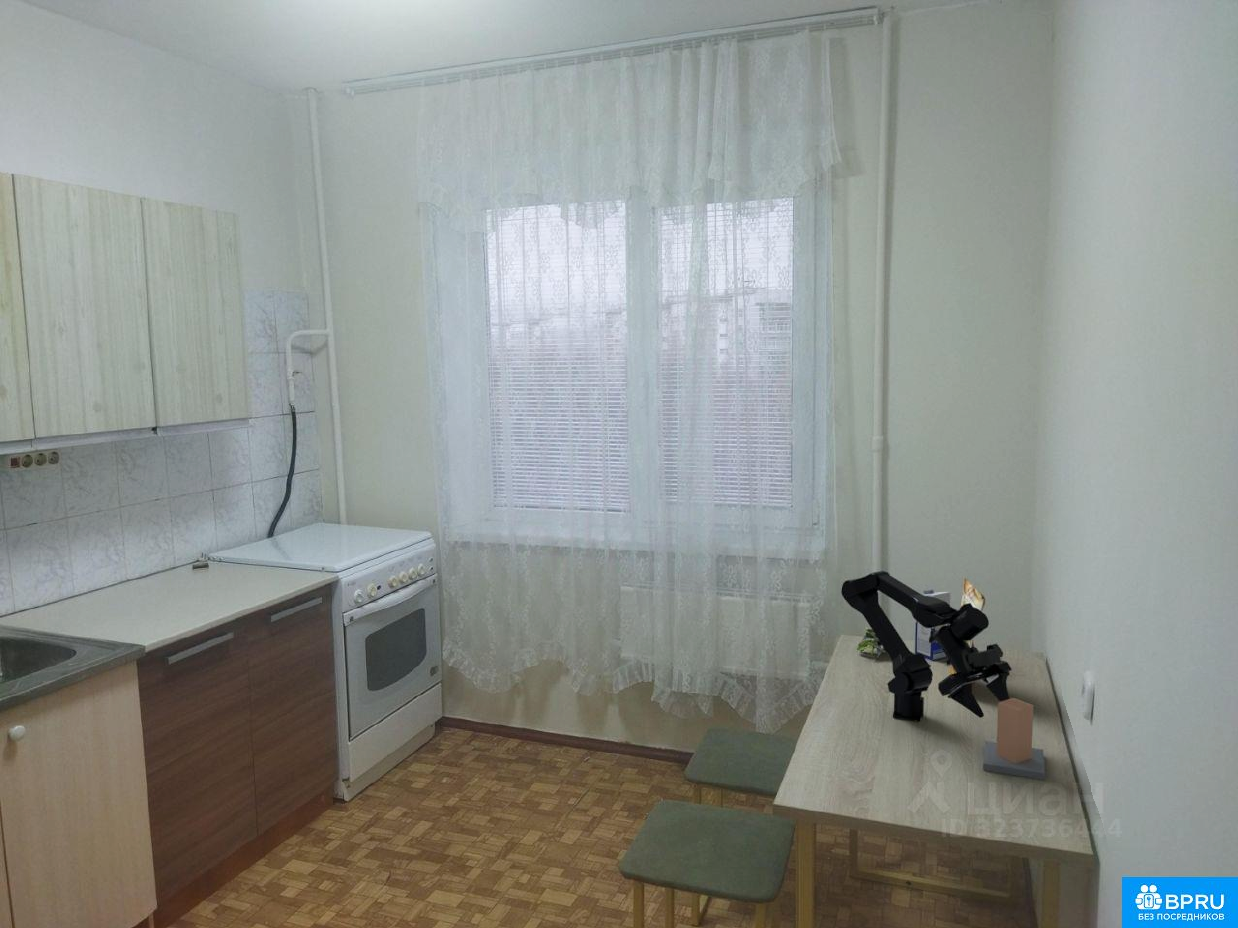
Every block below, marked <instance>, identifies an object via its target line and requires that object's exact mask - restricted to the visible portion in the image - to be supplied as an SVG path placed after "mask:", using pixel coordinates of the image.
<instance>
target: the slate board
mask: <svg viewBox="0 0 1238 928" xmlns="http://www.w3.org/2000/svg"><path fill="white" fill-rule="evenodd" d="M983 747H984V749H983V763H982V765H983V767H982V769H983V771H986V770H988V771H987V772H992V771H993V773H999V774H1005V775H1010V776H1016V777H1023V778H1029V779H1036V780H1042V781H1045V780H1046V769H1045V767H1046V766H1045V765H1046V764H1045V755H1044V749H1041V748H1033V747H1032V754H1031V759H1028V760H1025V761H1022V762H1020V763H1017V764H1016V763H1014V762H1012V761H1009V760H1007V759H1005V758H1003V757H1000V756H998V755H996V749H997V742H995V741H994V742H993V741H988V740H984V746H983Z"/></svg>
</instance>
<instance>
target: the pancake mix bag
mask: <svg viewBox="0 0 1238 928" xmlns="http://www.w3.org/2000/svg"><path fill="white" fill-rule="evenodd" d="M961 580H962V593H961V594H962V595H961V604H960V608H961V607H962V606H963V605H964V604H968V603H971V605H972V606H973V607H974V608H977V609H979V610H980V611H983V610H984V607H985V604H986V598H985V596H984V595H983V594H982V593H981V592H980V591H979V589H977V588H976V587H975V585H974V584H973V583H972V582H970V581H969V579H967V578H966V577H965V578H962V579H961ZM967 643H968V644H969V646H970V648H971V647H975V646H974V638H973V639H972V640H970V641H967ZM954 673H956V671H955V670H954V668H953V666H952V665H949V675H951V674H954ZM970 679H971V678H970ZM974 686H975V682H972V692H973V693H974V688H975V687H974Z"/></svg>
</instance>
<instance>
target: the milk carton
mask: <svg viewBox="0 0 1238 928" xmlns="http://www.w3.org/2000/svg"><path fill="white" fill-rule="evenodd" d="M923 595H924V596H929V597H935V598H937V599H940V600H943V601H945V602H947V603H948V604H949V605H950V606H951V591H941V592H940V591H939V592H935V591H934V589H926V590H923ZM949 625H950V624H949V623H948V624H945V625H941V626H937V627H933V628H925V627H923V626H922V625H921V624H920V623H919V622H918V621H916V620H915V631H914V634H915V635H914V638H915V639H914V645H915V646H914V654H917V653H921V654H922V655H923V656H924V658H925V660H930V661H931V662H932V661H933V662H934V661H937V660H941V659H946V658H947V657H946V655H945V653H944V652H943V650H942V648H941V647H940V645H939V644H938V642H933V643H929V637H930V632H931V631H934V630H939V629H940V628H941V627H943V626H949Z"/></svg>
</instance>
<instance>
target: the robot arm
mask: <svg viewBox="0 0 1238 928" xmlns="http://www.w3.org/2000/svg"><path fill="white" fill-rule="evenodd" d="M841 585H842V586H841V591H840V593H841V596H842V597H843V599H844V600H845V601H846V603H847V604H848V605H849V606H850V608H852V609H854V610H856V611H857V612H859V613H860V614H861V615H862V616H863V617H864V619H865V620H866V621H865V622H867V624H868V626H870V629H872V630H873V631H874V633H875V635H876V636H877V638H878V639H879V641H880V642H881V644H882V645H883V646H882V645H881V646H882V647H884V649H885V650H886V652H887V655H888V656H889V658H890V660H891V662H892V664H891V665H892V666H891V667H892V674H893V676H894V677H893V678H892V679H891V680H889V681H888V682H887V689H888V692H889V693H891V694H893V714H892V718H895V719H899V720H906V721H907V720H908V721H914V722H920V721H921V719H922V718H923V717H924V713H925V712H924V711H925V697H923V695H922V693H924V692H927V691H928V689H929V686H931V684H932V681H933V676H934V674H933V671H932V669H931V667H932V665H931V664H930V663H928V661H927V659H926V658H924V656H923V655H922V654H921V653H917V654H915V652H912V651H911V650H910V649H909V647H908V646H907V644H906V643H905V642H904V640H903V638H902V637H901V636H900V634H899V632H898V631H897V630H896V628H895V626H894V625H893V623H892V622H891V620H890V619H889V618H888V615H887V614H886V613H885V612H884V610H883V609H882V607H881V605H880V600H879V592H880V593H882V594H883V595H884V596H887V597H888V598H890V599H891V600H893V601H895V603H897V604H899V605H901V606H902V607H904V608H905V609H906V610H908V611H909V612H910V613H911V615H912V617H913V619H914V620H915V622H916V621H918V622H919V623H920V624H921V625H922V626H923V627H925V628H933V627H937V626H941V625H945V624H948V623H949V626H943V627H941V628H940V629H939V630H934V631H931V632H930V637H929V643H933V642H938V644H939V645H940V647H941V648H942V650H943V652H944V653H945V655H946V658H947V660H946V661H945V664H946V665H947V666H950V665H952V666H953V668H954V670H955V671H956V673H954V674H951V675H950V674H949V675H948V676H946V677H945V678H943V679H942V680H941V681H940V682H938V685H937V686H938V687H937V689H938V691H939V693H940V694H941V696H942V697H946V696H947V698H948V699H951V700H953V701H954V702H957V703H958V704H960V705H962V706H963V707H964V708H966V709H967V710H969V711H970V712H971V713H972V714H974V715H975V716H976V717H979V718H980V719H981V718H984V717H985V714H984V712H983V709H982V707H981V706H980V704H979V702H978V701H977V699H976V697H975V695H974V692H973V693H972V682H974V683H975V682H979V681H983V682H984V683H986V685H985V686H986V688H987V689H988V691H990V693H991V694H992V695H994V697H995V698H996V699H997V700H998V702H1001V701H1004V700H1008V699H1011V698H1010V695H1009V691H1008V686H1007V680H1008V677H1009V676H1010V675H1011V673H1010V672H1011V671H1012V670H1013V669H1012V667H1011V666H1010V664H1009V663H1008V662H1007V661H1005V660H1002V659H1001V658H1003V656H1004V652H1003V650H1002V648H1001V647H1000V645H999V644H998V643H992V644H989V645H986V649H985V650H981V651H980V650H979V649H978V648H977V647H976V646H974V647H971V648H970V646H969V644H968V643H967V641H970V640H972V639H973V640H974V639H975V638H976V637H977V636H978V635H980V634H981V633H982V632H983V631H984V630H986V629H987V628H988V627H989V624H990V622H989V619H988V617H987V615H986V614H985V613H984V612H982V611H983V610H982V611H980V610H979V609H977V608H974V607H973V606H972V605H971V603H968V604H964V605H963V606H962V607H961V606H960V608H959V609H956V608H954V607H952V606H951V604H950V605H949V604H948V603H947V602H945V601H943V600H940V599H937V598H935V597H929V596H924V594H922V593H921V592H920V593H919V591H917V590H915V589H914V588H911V587H910V586H908V585H907V584H905V583H903V582H902V581H900V580H898V579H897V578H895V577H893V576H892V575H890V573H889V572H887V571H884V570H881V571H879V570H878V571H875V572H870V573H869V574H867V575H865V576H862V577H859V578H853V579H848V580H845V581H844V582H842V584H841ZM886 652H885V653H886ZM970 678H971V679H970Z"/></svg>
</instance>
